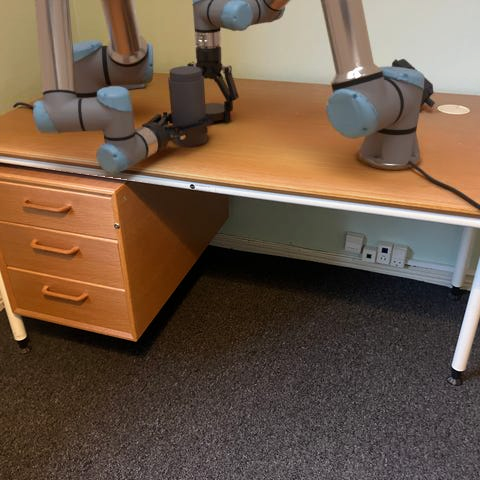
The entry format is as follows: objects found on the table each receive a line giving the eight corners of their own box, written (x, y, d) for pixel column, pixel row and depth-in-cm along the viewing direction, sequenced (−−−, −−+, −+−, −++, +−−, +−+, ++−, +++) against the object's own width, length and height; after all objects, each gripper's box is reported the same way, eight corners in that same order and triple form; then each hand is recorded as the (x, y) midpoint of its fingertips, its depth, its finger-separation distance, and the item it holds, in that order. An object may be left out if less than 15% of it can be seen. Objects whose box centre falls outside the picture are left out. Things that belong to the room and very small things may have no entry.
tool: (374, 89, 181) (400, 53, 170) (416, 126, 177) (445, 91, 166) (365, 93, 177) (391, 56, 166) (408, 131, 173) (438, 96, 162)
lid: (192, 121, 163) (192, 113, 161) (197, 110, 172) (196, 102, 170) (227, 121, 162) (226, 113, 161) (229, 110, 171) (229, 103, 170)
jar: (213, 137, 154) (210, 67, 144) (194, 148, 147) (189, 76, 137) (186, 132, 159) (181, 63, 148) (166, 142, 152) (160, 72, 141)
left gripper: (117, 146, 144) (168, 121, 160) (184, 162, 134) (231, 134, 150) (113, 119, 140) (166, 96, 156) (181, 133, 130) (230, 108, 146)
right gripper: (167, 45, 157) (174, 118, 169) (238, 51, 149) (239, 127, 160) (180, 40, 163) (185, 111, 174) (249, 46, 154) (250, 119, 166)
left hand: (197, 115), depth 153 cm, fingers closed on jar, 10 cm apart
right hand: (211, 119), depth 167 cm, fingers closed on lid, 10 cm apart
